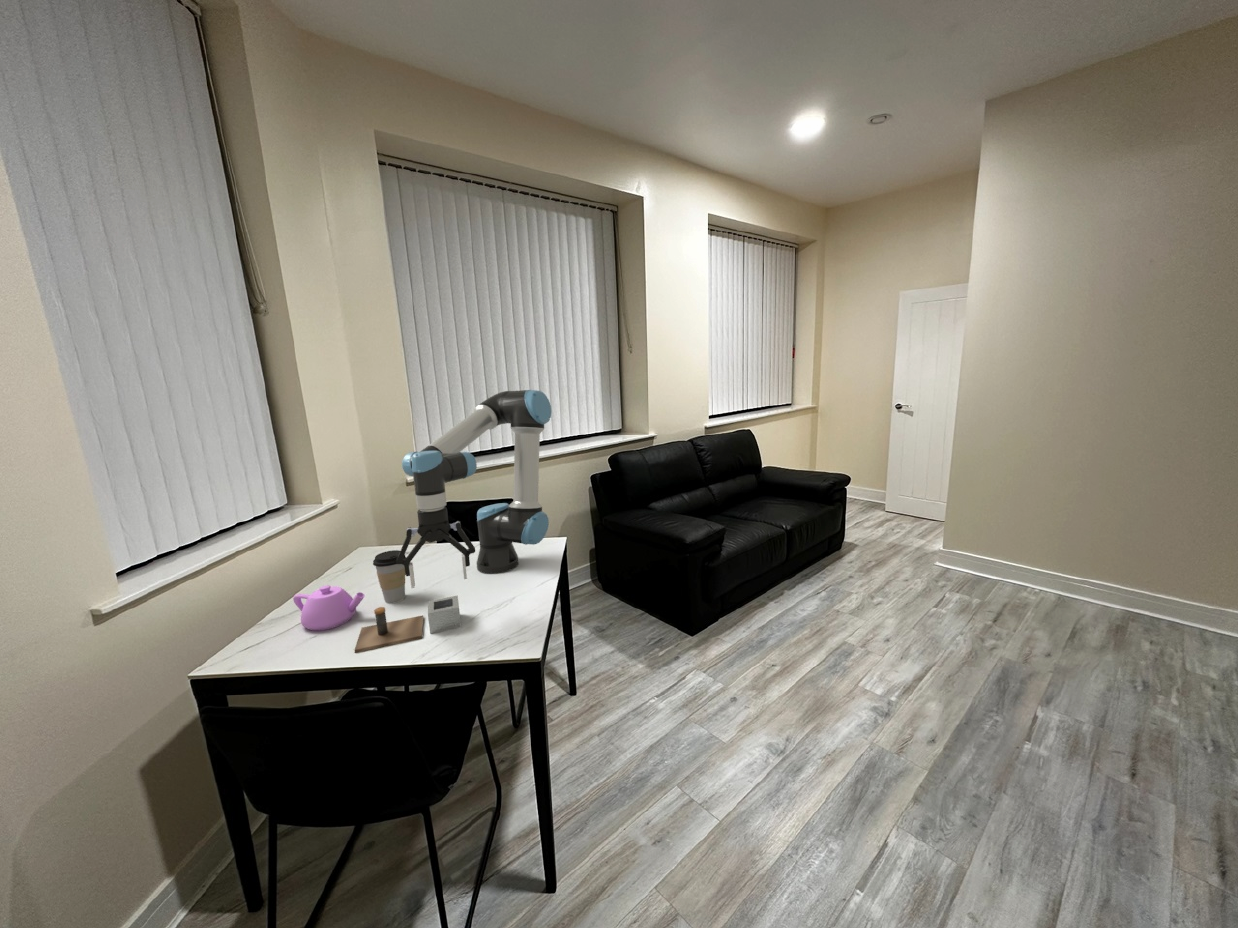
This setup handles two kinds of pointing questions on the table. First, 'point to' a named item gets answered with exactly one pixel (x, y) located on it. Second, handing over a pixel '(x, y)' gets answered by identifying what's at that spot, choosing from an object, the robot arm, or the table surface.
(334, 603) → the teapot
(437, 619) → the hollow square block
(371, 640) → the keeper
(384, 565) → the coffee cup
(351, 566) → the table surface
